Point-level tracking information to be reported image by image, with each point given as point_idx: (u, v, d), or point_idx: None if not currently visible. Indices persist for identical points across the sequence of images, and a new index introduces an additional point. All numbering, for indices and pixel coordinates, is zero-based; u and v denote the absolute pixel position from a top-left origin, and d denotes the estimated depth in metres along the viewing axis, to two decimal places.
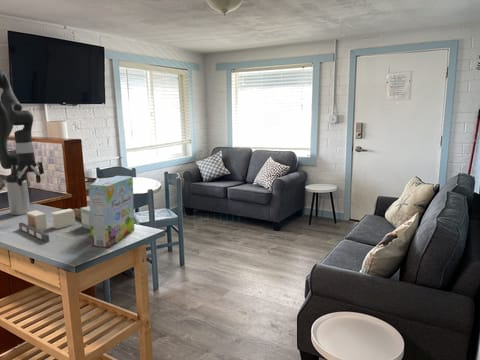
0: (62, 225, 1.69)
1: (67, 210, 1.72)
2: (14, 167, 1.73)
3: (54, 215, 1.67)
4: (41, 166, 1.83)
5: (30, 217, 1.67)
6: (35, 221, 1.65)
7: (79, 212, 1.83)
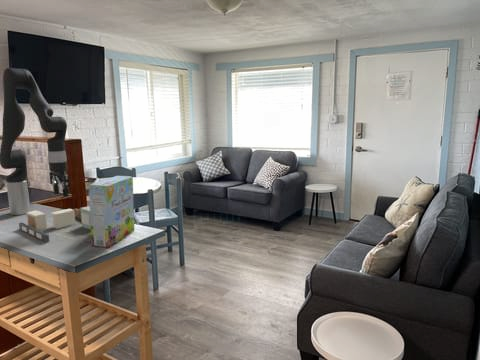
0: (62, 225, 1.69)
1: (67, 210, 1.72)
2: None
3: (54, 215, 1.67)
4: None
5: (30, 217, 1.67)
6: (35, 221, 1.65)
7: (79, 212, 1.83)
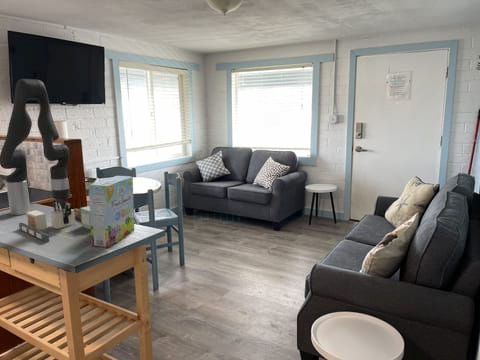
0: (62, 225, 1.69)
1: None
2: None
3: (54, 215, 1.67)
4: None
5: (30, 217, 1.67)
6: (35, 221, 1.65)
7: (79, 212, 1.83)
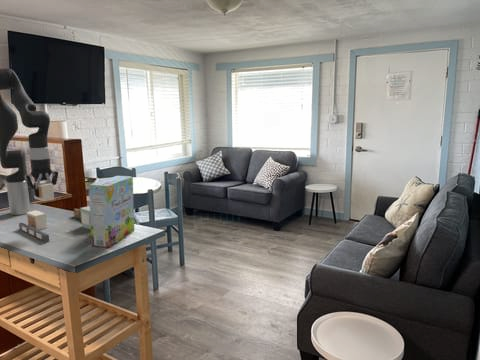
0: None
1: (41, 182, 1.61)
2: None
3: (50, 186, 1.58)
4: None
5: (30, 217, 1.67)
6: (35, 221, 1.65)
7: (79, 212, 1.83)
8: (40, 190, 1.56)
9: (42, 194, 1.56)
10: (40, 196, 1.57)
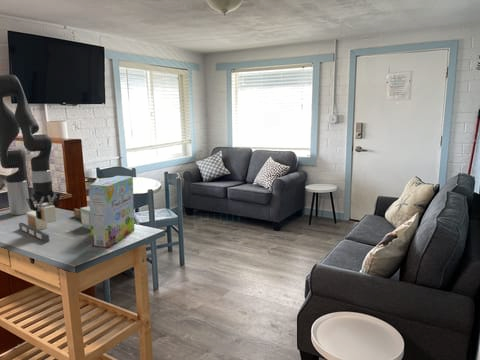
0: None
1: (43, 204, 1.62)
2: None
3: (52, 208, 1.59)
4: None
5: (30, 217, 1.67)
6: (35, 221, 1.65)
7: (79, 212, 1.83)
8: (42, 212, 1.58)
9: (44, 216, 1.58)
10: (42, 218, 1.59)
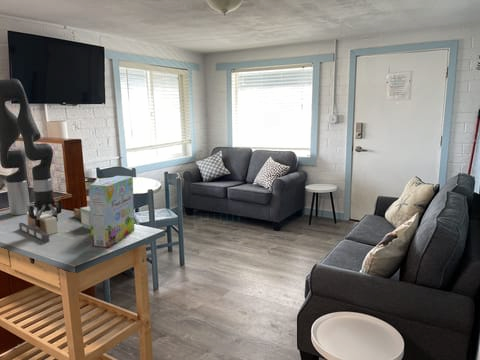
0: None
1: (44, 215, 1.64)
2: None
3: (54, 220, 1.61)
4: None
5: None
6: None
7: (79, 212, 1.83)
8: (44, 224, 1.59)
9: (46, 228, 1.59)
10: (44, 230, 1.60)
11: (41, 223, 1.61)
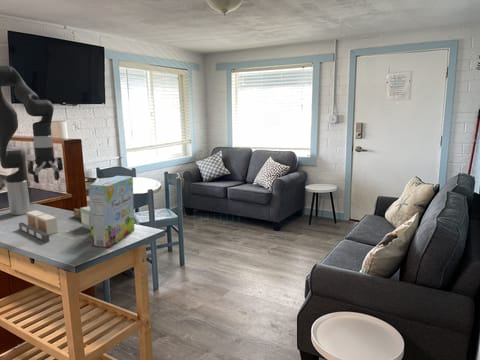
0: None
1: (44, 215, 1.64)
2: None
3: (54, 220, 1.61)
4: None
5: (30, 217, 1.67)
6: (35, 221, 1.65)
7: (79, 212, 1.83)
8: (44, 224, 1.59)
9: (46, 228, 1.59)
10: (44, 230, 1.60)
11: (41, 223, 1.61)
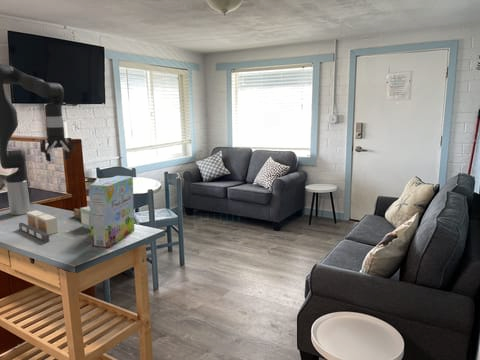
0: None
1: (44, 215, 1.64)
2: None
3: (54, 220, 1.61)
4: None
5: (30, 217, 1.67)
6: (35, 221, 1.65)
7: (79, 212, 1.83)
8: (44, 224, 1.59)
9: (46, 228, 1.59)
10: (44, 230, 1.60)
11: (41, 223, 1.61)
